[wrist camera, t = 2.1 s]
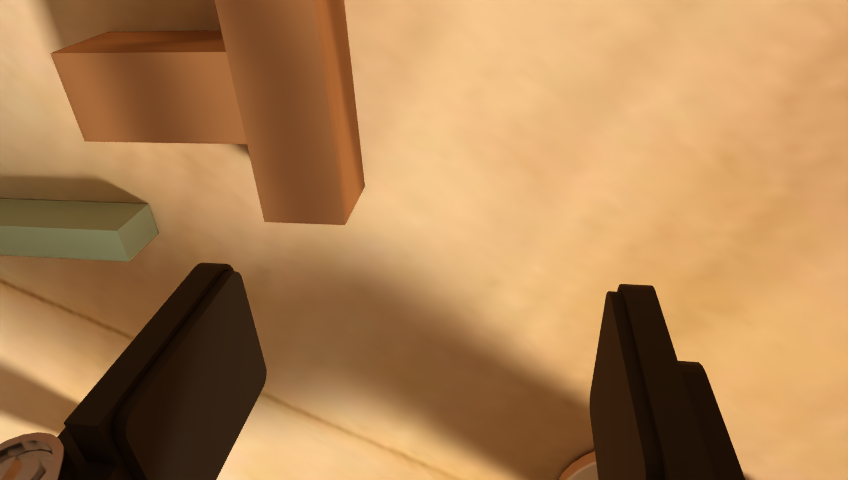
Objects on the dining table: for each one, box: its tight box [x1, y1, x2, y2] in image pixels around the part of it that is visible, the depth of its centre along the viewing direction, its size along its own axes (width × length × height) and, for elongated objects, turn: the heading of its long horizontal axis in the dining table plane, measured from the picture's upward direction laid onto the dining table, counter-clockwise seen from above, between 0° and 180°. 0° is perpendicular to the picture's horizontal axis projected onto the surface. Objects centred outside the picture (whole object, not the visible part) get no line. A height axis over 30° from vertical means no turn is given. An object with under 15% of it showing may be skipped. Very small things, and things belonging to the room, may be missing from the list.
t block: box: [51, 0, 365, 225], centre depth 26 cm, size 12×12×4 cm
